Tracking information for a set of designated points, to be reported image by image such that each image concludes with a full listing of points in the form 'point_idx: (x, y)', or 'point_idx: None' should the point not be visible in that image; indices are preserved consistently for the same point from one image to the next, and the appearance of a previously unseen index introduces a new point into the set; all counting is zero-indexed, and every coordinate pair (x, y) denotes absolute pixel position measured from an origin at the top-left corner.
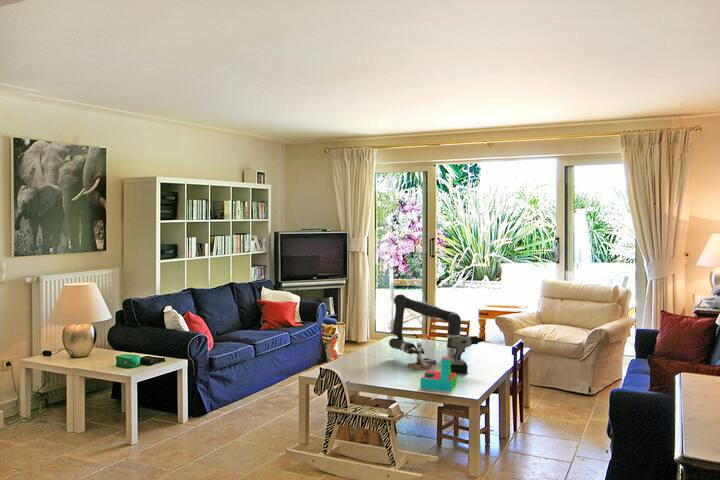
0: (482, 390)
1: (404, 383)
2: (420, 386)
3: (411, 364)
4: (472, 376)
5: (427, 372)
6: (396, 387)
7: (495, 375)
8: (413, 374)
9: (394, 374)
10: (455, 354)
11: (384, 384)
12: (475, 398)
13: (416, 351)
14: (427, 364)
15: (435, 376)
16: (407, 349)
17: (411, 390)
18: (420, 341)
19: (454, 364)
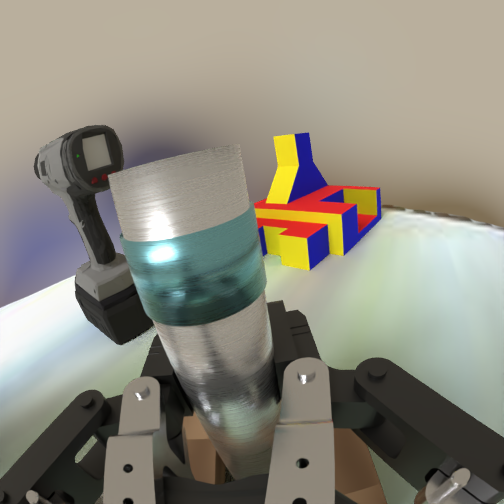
0: None
1: (430, 238)
2: (380, 212)
3: (366, 464)
4: None
5: (344, 205)
6: (448, 222)
7: None
8: (388, 318)
9: (494, 318)
10: (104, 228)
11: (488, 235)
12: None
13: (305, 332)
14: (191, 425)
15: (330, 192)
16: (494, 435)
17: (406, 212)
18: (110, 174)
19: None
